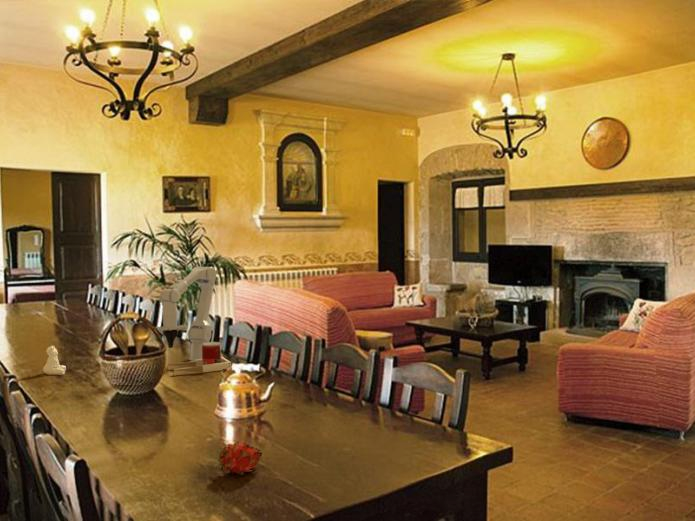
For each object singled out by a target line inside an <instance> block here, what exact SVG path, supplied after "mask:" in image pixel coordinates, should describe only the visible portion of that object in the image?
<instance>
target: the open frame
mask: <svg viewBox="0 0 695 521" xmlns="http://www.w3.org/2000/svg"><path fill="white" fill-rule="evenodd" d="M195 361H196V367H197V366H203V372H202V373H208V372H217V371H218V372H219V371H224V370H223V369H224V368H226V367H230V366H231V367H232V362H231V361H230V360H229V359H226V358H225V357H224V356H221V363H216V364H207V365H203V364H202V359H197V360H195Z"/></svg>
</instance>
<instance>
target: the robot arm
mask: <svg viewBox="0 0 695 521" xmlns="http://www.w3.org/2000/svg"><path fill="white" fill-rule="evenodd" d="M216 278H217V271H216V269H215V268H214V267H213V266H194V267H193V268H191V269H190V273H189V274H187V275H186V276H185V277H184V278H183V279H177V280H175V282H174V283H173V284H171V285H170V286H169V287H168V288H165V289H163V290H161V292H160V295H159V299H160V303H161V306H162V322H163V323H162V324H163V326H157V327H155V326H154V327H155V328H157V330H158V331H159V332H158V333H163V335H164V337H165V338H166V342H167V346H168V347H167V348H169V349H173V348H174V343H175V339H176V337H177V335H178V331H187V338H188V340H190V342H191V344H190V357H189V358H188V360H189V361H195V360H197V359H202V344H203V343H206V342H210V340H211V338H212V325H211V324H210V322H208V321H209V317H210V316H209V315H210V309H211V304H212V299H213V294H214V288H215V283H216ZM194 282H196V283H197V284H198V285H199V286H200V287H201V291H200V296H199V301H198V302H199V303H198V305H197V306H198V307H197V313H196V316H195V317H196V318H195V320H193V322H191V323H190V326H189V329H188V325H187V324H179V325H178V312H177V311H178V310H177V309H178V306H177V302H179V300H180V297H181V295H183V294H184V293H185V292H187V290H188V289H189V288H188V287H189V286H190V285H192V284H193V283H194Z"/></svg>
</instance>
